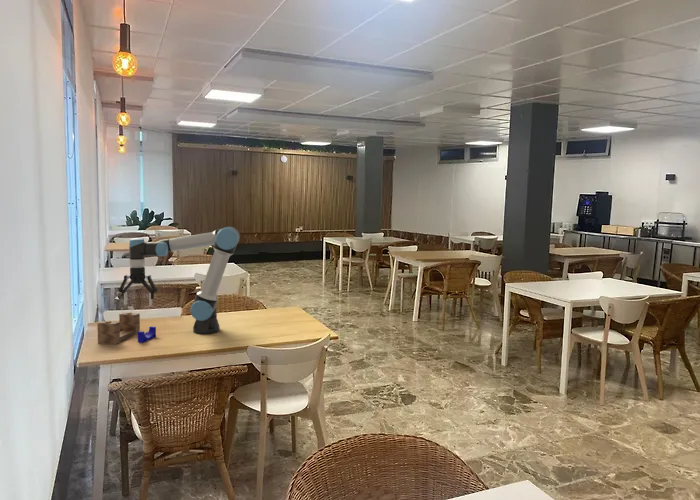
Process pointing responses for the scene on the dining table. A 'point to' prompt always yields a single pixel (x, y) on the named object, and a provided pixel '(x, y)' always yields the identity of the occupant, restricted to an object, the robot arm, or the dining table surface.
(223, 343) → the dining table surface
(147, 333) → the cable clip
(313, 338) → the dining table surface
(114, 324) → the wooden crate
